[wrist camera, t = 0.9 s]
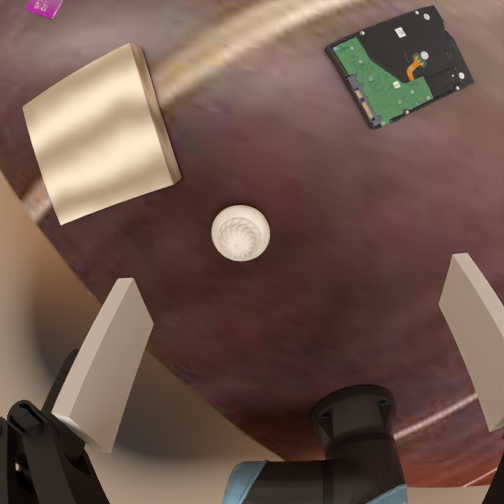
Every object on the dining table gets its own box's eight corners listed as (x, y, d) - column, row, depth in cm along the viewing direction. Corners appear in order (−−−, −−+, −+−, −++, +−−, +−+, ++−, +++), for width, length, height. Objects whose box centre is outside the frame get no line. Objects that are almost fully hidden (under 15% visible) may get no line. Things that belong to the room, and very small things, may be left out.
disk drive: (422, 8, 25) (322, 50, 29) (432, 2, 22) (326, 45, 26) (464, 83, 28) (370, 131, 32) (476, 82, 25) (378, 132, 29)
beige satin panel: (183, 176, 35) (173, 184, 31) (77, 214, 38) (60, 225, 34) (144, 48, 29) (129, 42, 25) (41, 105, 32) (22, 107, 28)
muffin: (248, 257, 39) (243, 286, 32) (206, 226, 37) (192, 251, 31) (281, 218, 36) (283, 242, 30) (238, 185, 35) (229, 202, 29)
